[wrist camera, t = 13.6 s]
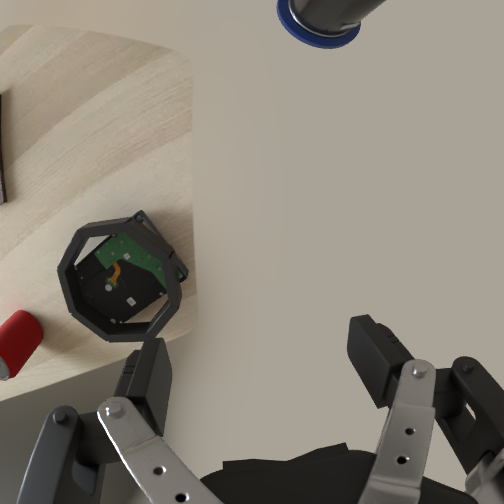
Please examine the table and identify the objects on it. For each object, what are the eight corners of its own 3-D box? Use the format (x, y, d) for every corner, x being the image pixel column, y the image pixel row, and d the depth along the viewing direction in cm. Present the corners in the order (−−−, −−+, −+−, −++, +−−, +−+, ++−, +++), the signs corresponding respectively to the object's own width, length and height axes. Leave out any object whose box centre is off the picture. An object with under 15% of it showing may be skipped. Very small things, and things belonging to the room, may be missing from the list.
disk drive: (115, 324, 40) (190, 269, 39) (110, 334, 38) (188, 278, 36) (69, 271, 37) (141, 207, 36) (61, 279, 34) (135, 211, 33)
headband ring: (59, 227, 32) (48, 233, 30) (169, 212, 34) (165, 216, 31) (87, 331, 37) (79, 342, 34) (188, 326, 38) (186, 339, 35)
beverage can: (10, 320, 38) (-26, 357, 27) (24, 300, 37) (-16, 337, 26) (35, 348, 40) (5, 390, 29) (51, 330, 39) (18, 374, 28)
